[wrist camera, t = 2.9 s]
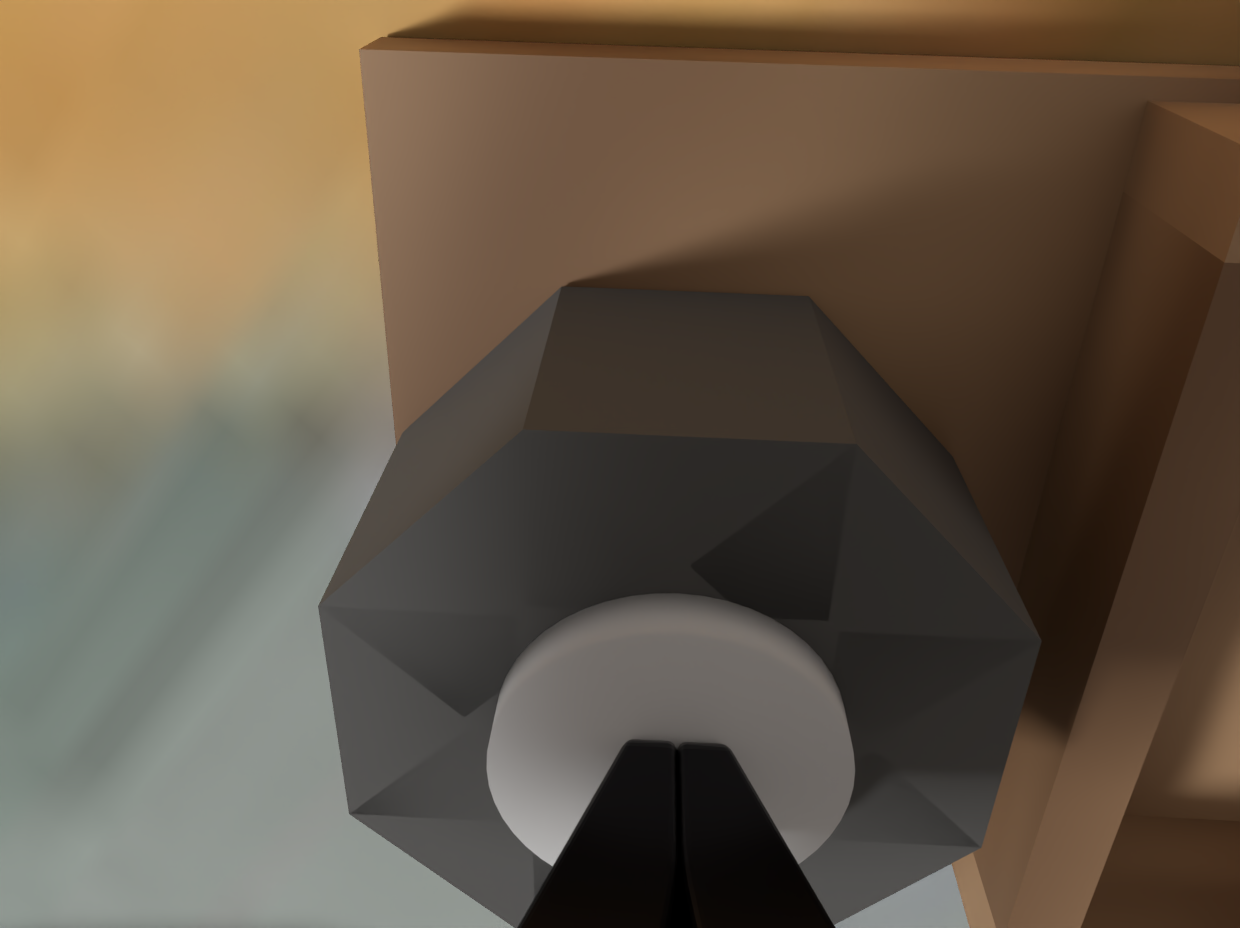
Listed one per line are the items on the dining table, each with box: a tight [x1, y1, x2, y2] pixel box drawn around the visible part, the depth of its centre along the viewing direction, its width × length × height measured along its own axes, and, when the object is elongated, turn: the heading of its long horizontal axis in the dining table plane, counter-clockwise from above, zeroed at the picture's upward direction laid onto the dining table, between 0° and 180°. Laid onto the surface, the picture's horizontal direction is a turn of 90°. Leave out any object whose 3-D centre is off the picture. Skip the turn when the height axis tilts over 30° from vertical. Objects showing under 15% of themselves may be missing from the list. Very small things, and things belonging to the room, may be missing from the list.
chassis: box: [359, 37, 1240, 928], centre depth 11 cm, size 16×10×4 cm, turn 89°
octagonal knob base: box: [318, 286, 1042, 928], centre depth 10 cm, size 6×6×4 cm
